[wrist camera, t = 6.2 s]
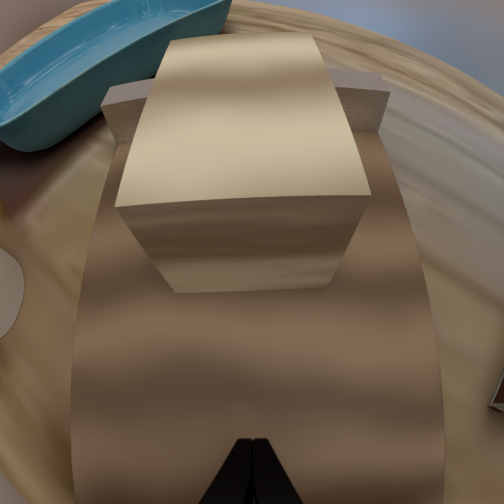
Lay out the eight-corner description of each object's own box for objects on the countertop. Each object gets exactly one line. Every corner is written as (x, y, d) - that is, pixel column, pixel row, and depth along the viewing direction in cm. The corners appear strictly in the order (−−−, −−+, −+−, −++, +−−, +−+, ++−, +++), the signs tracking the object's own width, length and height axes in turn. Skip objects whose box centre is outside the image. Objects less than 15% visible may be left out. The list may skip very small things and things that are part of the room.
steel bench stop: (377, 132, 22) (390, 91, 18) (117, 144, 22) (100, 106, 18) (368, 112, 23) (379, 73, 19) (125, 124, 23) (110, 87, 19)
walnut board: (429, 505, 11) (441, 511, 10) (90, 513, 12) (78, 519, 10) (363, 121, 24) (367, 108, 23) (131, 132, 25) (126, 120, 23)
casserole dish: (161, 11, 41) (155, -22, 34) (268, 28, 34) (267, -17, 28) (-23, 143, 28) (-47, 109, 22) (20, 214, 22) (-26, 164, 15)
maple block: (327, 287, 16) (371, 195, 9) (175, 292, 16) (114, 207, 9) (301, 129, 22) (310, 32, 14) (192, 135, 22) (170, 40, 15)
